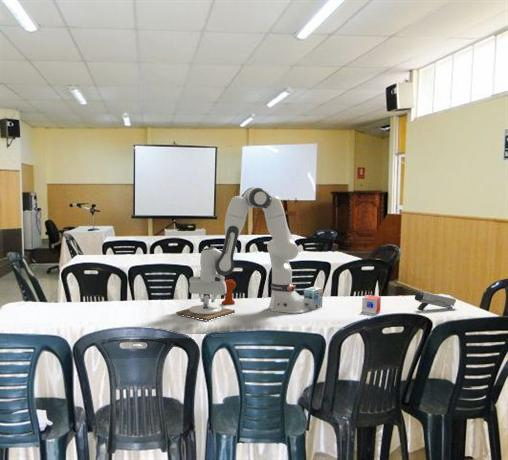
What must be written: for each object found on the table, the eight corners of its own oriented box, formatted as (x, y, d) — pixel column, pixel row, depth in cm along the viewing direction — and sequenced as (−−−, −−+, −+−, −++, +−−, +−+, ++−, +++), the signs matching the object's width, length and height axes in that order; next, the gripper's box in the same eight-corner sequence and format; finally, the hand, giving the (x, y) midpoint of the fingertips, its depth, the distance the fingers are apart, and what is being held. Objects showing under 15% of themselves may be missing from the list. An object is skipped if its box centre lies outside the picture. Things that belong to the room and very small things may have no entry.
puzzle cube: (380, 310, 267) (380, 296, 266) (376, 313, 260) (376, 299, 259) (366, 308, 271) (366, 294, 270) (361, 311, 264) (362, 297, 263)
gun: (411, 307, 270) (415, 290, 270) (449, 315, 275) (454, 298, 275) (413, 308, 268) (417, 291, 267) (452, 316, 273) (456, 299, 272)
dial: (221, 314, 247) (221, 302, 246) (188, 314, 246) (188, 302, 245) (221, 306, 264) (221, 295, 263) (190, 306, 263) (190, 295, 262)
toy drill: (201, 301, 278) (205, 275, 277) (233, 304, 281) (237, 279, 280) (202, 303, 273) (205, 277, 272) (234, 306, 276) (238, 280, 276)
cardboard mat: (234, 312, 257) (234, 309, 257) (207, 321, 240) (207, 318, 239) (203, 306, 270) (203, 304, 270) (176, 314, 252) (176, 311, 252)
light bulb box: (313, 309, 267) (313, 290, 266) (302, 308, 271) (303, 289, 270) (322, 306, 275) (323, 287, 274) (312, 304, 279) (312, 286, 278)
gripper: (188, 277, 258) (187, 302, 259) (225, 278, 256) (224, 304, 257) (191, 275, 265) (190, 299, 266) (227, 276, 262) (226, 301, 263)
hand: (207, 302), depth 261 cm, fingers open, 4 cm apart
